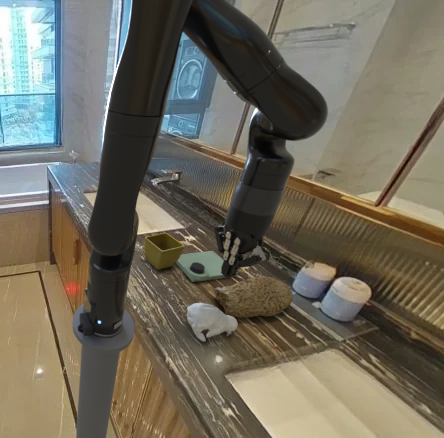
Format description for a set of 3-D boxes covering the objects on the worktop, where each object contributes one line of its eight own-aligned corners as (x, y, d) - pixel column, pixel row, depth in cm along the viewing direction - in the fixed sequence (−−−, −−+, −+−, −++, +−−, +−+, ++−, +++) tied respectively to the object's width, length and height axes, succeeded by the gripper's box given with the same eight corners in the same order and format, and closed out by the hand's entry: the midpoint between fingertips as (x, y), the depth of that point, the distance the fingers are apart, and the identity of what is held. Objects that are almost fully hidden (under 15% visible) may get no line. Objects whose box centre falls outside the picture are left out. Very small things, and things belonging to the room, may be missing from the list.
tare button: (194, 274, 84) (196, 270, 83) (187, 267, 87) (189, 262, 86) (205, 273, 85) (207, 268, 84) (198, 266, 88) (199, 261, 87)
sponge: (231, 329, 72) (315, 316, 70) (230, 303, 69) (317, 289, 67) (206, 299, 84) (276, 287, 82) (205, 276, 82) (277, 264, 80)
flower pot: (161, 253, 98) (166, 231, 94) (179, 268, 91) (185, 245, 87) (140, 259, 95) (144, 236, 91) (157, 275, 88) (162, 251, 84)
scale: (191, 285, 84) (193, 277, 83) (168, 259, 95) (169, 251, 94) (239, 279, 86) (243, 271, 85) (211, 253, 98) (213, 246, 96)
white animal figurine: (189, 296, 68) (236, 297, 69) (178, 321, 72) (223, 322, 73) (202, 317, 62) (253, 318, 63) (190, 343, 66) (238, 343, 67)
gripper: (301, 219, 49) (266, 293, 58) (244, 190, 61) (221, 255, 69) (264, 223, 48) (233, 298, 57) (213, 193, 60) (193, 259, 68)
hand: (227, 275), depth 63 cm, fingers closed
